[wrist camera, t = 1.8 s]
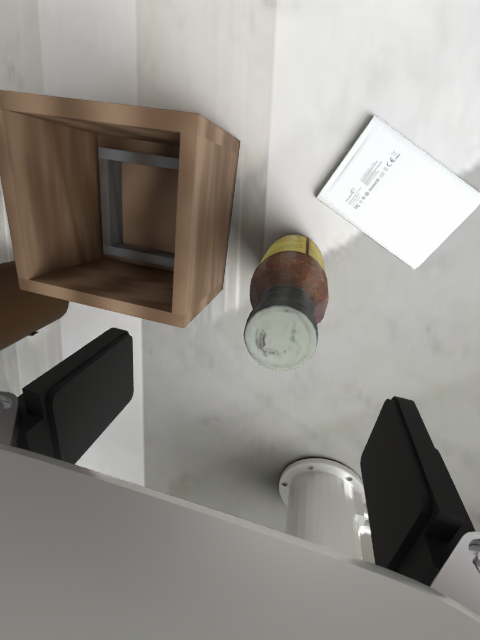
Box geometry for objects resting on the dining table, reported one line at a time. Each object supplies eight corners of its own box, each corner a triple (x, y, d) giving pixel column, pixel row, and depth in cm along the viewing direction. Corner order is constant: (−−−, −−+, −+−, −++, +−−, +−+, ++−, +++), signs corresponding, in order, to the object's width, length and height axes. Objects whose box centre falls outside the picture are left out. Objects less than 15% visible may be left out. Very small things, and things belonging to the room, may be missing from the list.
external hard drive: (410, 266, 32) (316, 197, 32) (478, 196, 29) (372, 117, 28) (415, 270, 31) (316, 197, 30) (487, 197, 27) (375, 113, 27)
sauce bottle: (257, 270, 36) (195, 348, 18) (284, 221, 33) (244, 255, 15) (305, 298, 36) (292, 405, 18) (336, 252, 33) (359, 323, 15)
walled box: (240, 141, 31) (198, 113, 20) (222, 289, 37) (183, 328, 27) (92, 121, 34) (-15, 88, 23) (100, 263, 40) (19, 289, 29)
